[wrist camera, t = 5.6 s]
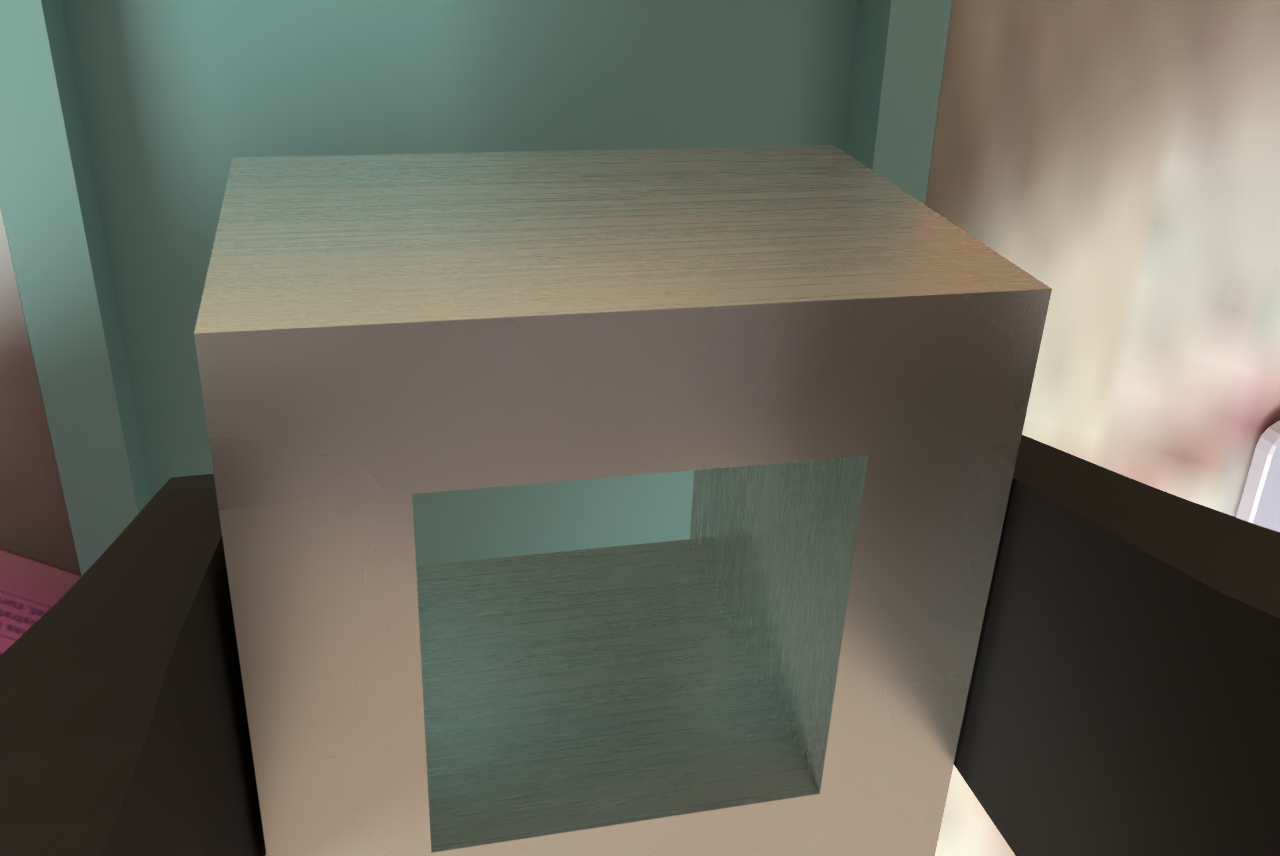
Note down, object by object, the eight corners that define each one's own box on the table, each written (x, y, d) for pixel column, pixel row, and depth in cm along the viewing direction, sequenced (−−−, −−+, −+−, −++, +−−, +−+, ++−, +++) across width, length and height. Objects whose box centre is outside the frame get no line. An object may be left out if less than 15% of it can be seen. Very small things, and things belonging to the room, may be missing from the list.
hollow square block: (833, 144, 12) (1050, 288, 8) (780, 615, 14) (930, 875, 11) (232, 157, 10) (192, 333, 7) (292, 672, 13) (283, 986, 10)
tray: (913, -141, 15) (971, -137, 14) (831, 586, 20) (867, 638, 19) (-40, -161, 13) (-81, -158, 11) (131, 672, 18) (117, 740, 16)
